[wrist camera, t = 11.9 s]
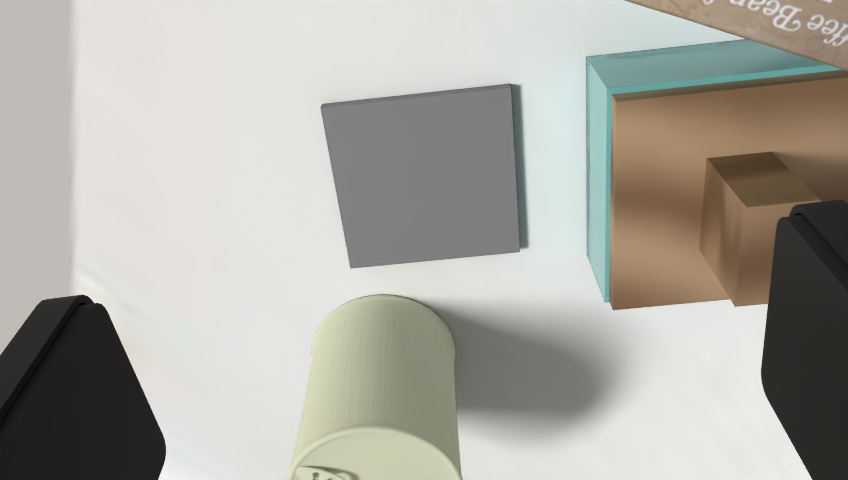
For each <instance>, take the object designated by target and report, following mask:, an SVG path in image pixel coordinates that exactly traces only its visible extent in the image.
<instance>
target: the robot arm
mask: <svg viewBox="0 0 848 480" xmlns="http://www.w3.org/2000/svg"><path fill="white" fill-rule="evenodd" d="M761 378H762V384H763V388H764V392H765V394H766V397H767V399H768V401H769V402H770V404H771V406H772V408H773V410H774V411H775V413H776V415H777V417H778V419H779V420H780V422H781V424H782V426H783V428H784V429H785V431H786V433H787V435H788V437H789V438H790V440H791V442H792V444H793V445H794V447H795V449H796V451H797V453H798V454H799V456H800V458H801V460H802V462H803V463H804V465H805V467H806V469H807V471H808V472H809V474H810V476H811V478H812V480H848V203H847V202H845V201H844V200H840V199H837V200H829V201H821V202H813V203H805V204H797V205H795V206H794V207H793V208H792V210H791V212H790V215H789V216H788V217H781V218H780V219H779V221H778V223H777V227H776V234H775V244H774V253H773V263H772V272H771V282H770V291H769V301H768V310H767V320H766V329H765V339H764V348H763V358H762V367H761ZM165 456H166V445H165V440H164V437H163V434H162V432H161V430H160V428H159V425H158V423H157V421H156V419H155V416H154V414H153V412H152V410H151V408H150V405H149V403H148V401H147V399H146V396H145V394H144V392H143V390H142V388H141V385H140V383H139V381H138V379H137V376H136V374H135V372H134V370H133V368H132V365H131V363H130V361H129V359H128V356H127V354H126V352H125V350H124V348H123V345H122V343H121V341H120V339H119V336H118V334H117V332H116V330H115V328H114V325H113V323H112V321H111V319H110V316H109V314H108V312H107V310H106V309H105V307H104V306H103V305H102V304H99V303H94V302H93V301H92V300H91V299H90V298H89V297H88V296H85V295H77V296H69V297H61V298H54V299H47V300H43V301H41V302H40V303H39V304H38V305H37V306H36V307H35V309H34V310H33V311H32V313H31V314H30V316H29V317H28V318H27V320H26V321H25V322H24V324H23V325H22V327H21V328H20V329H19V331H18V332H17V333H16V335H15V336H14V338H13V339H12V340H11V341H10V343H9V344H8V346H7V347H6V348H5V350H4V351H3V352H2V354H1V355H0V480H158V478H159V475H160V473H161V470H162V468H163V465H164V461H165Z"/></svg>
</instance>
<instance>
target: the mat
mask: <svg viewBox="0 0 848 480" xmlns="http://www.w3.org/2000/svg"><path fill="white" fill-rule="evenodd" d="M321 113H322V118H323V123H324V129H325V134H326V140H327V145H328V150H329V156H330V161H331V166H332V172H333V177H334V182H335V188H336V193H337V198H338V204H339V209H340V214H341V220H342V225H343V230H344V236H345V241H346V246H347V252H348V257H349V263H350V268H361V267H371V266H381V265H392V264H402V263H412V262H422V261H433V260H443V259H453V258H463V257H474V256H484V255H494V254H505V253H515V252H520V243H519V225H518V207H517V189H516V170H515V152H514V134H513V116H512V98H511V86H510V84H504V85H495V86H485V87H476V88H467V89H458V90H448V91H439V92H430V93H421V94H412V95H402V96H393V97H384V98H375V99H365V100H356V101H347V102H338V103H328V104H322V105H321Z"/></svg>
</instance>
